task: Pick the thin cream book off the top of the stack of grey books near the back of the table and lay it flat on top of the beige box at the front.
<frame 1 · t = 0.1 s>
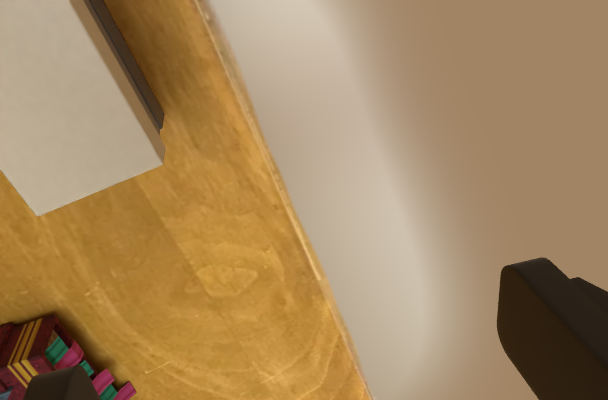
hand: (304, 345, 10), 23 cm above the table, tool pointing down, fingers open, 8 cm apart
thin cream book: (35, 62, 21), point 7 cm above the table, touching grey books
grey books: (73, 30, 27), on the table
decorative book: (8, 387, 38), on the table
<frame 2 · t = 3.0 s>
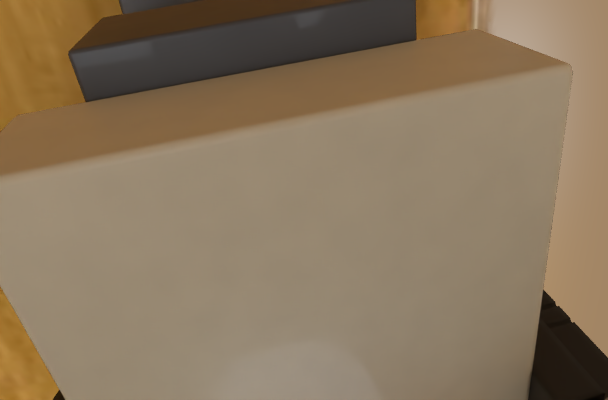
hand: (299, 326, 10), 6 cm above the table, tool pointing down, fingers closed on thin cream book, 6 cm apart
thin cream book: (311, 367, 9), point 7 cm above the table, touching grey books, gripper
grey books: (265, 187, 15), on the table
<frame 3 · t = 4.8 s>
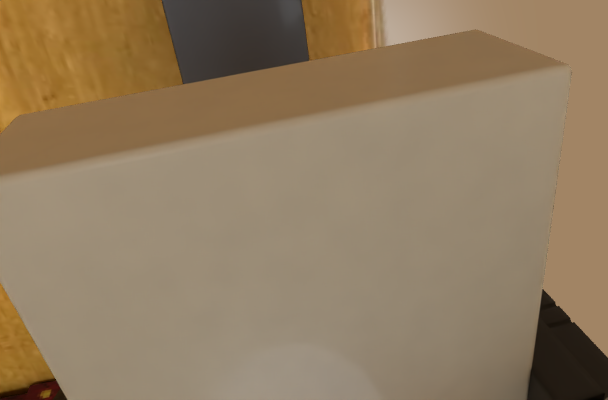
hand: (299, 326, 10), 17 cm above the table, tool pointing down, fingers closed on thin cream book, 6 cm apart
thin cream book: (311, 366, 9), point 18 cm above the table, touching gripper
grey books: (245, 91, 24), on the table
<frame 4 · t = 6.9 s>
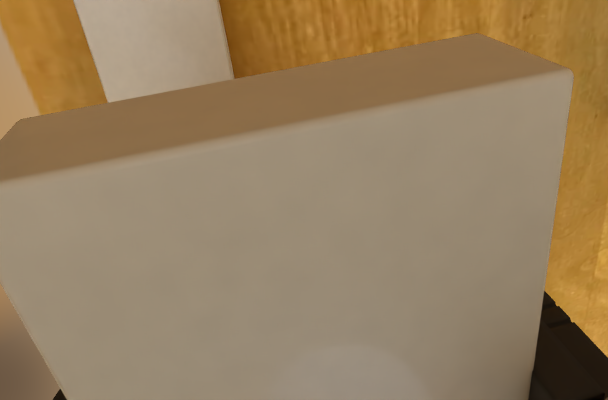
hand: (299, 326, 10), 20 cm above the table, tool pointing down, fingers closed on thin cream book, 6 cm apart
thin cream book: (312, 368, 9), point 21 cm above the table, touching gripper
beige box: (175, 74, 26), on the table
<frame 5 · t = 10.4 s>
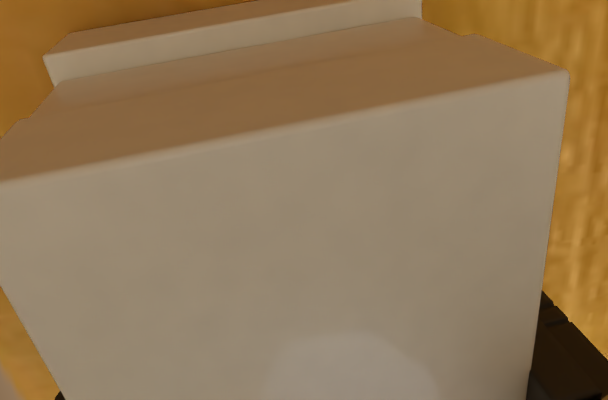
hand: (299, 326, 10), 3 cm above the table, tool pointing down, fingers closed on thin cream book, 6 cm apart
thin cream book: (311, 368, 9), point 4 cm above the table, touching beige box, gripper
beige box: (280, 254, 12), on the table
when the fingers open (3 cm above the table, at t = 10.6 s): thin cream book stays where it is, resting on beige box.
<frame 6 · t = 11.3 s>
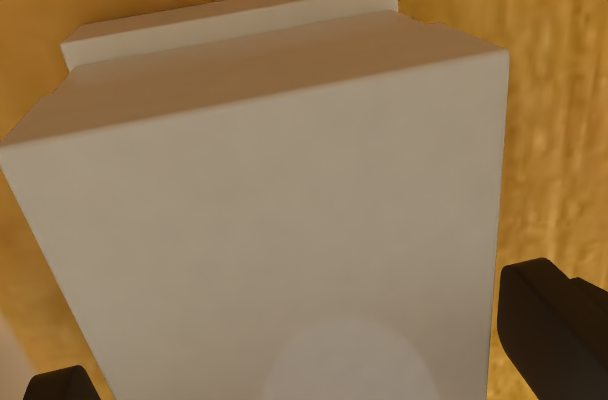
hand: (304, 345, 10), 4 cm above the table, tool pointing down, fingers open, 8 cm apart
thin cream book: (300, 329, 10), point 4 cm above the table, touching beige box
beige box: (274, 232, 13), on the table
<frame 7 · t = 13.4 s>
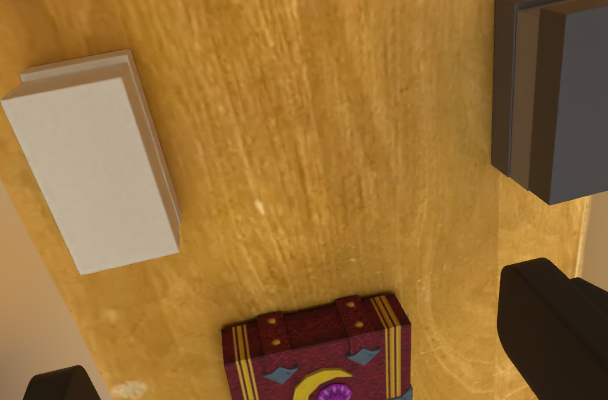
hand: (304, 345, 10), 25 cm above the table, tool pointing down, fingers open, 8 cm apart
thin cream book: (104, 170, 29), point 4 cm above the table, touching beige box
grey books: (521, 82, 36), on the table
decorative book: (319, 350, 45), on the table
beige box: (112, 147, 32), on the table
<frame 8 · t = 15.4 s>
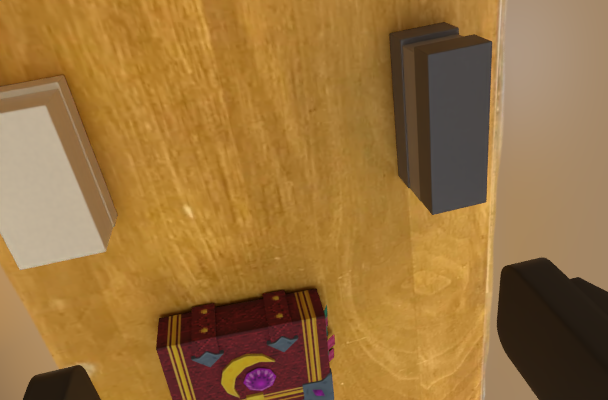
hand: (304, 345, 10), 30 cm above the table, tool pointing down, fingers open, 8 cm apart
thin cream book: (39, 180, 34), point 4 cm above the table, touching beige box
grey books: (419, 104, 41), on the table
decorative book: (252, 338, 50), on the table
beige box: (52, 158, 37), on the table
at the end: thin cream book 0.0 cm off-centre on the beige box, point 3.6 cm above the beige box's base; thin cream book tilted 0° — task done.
